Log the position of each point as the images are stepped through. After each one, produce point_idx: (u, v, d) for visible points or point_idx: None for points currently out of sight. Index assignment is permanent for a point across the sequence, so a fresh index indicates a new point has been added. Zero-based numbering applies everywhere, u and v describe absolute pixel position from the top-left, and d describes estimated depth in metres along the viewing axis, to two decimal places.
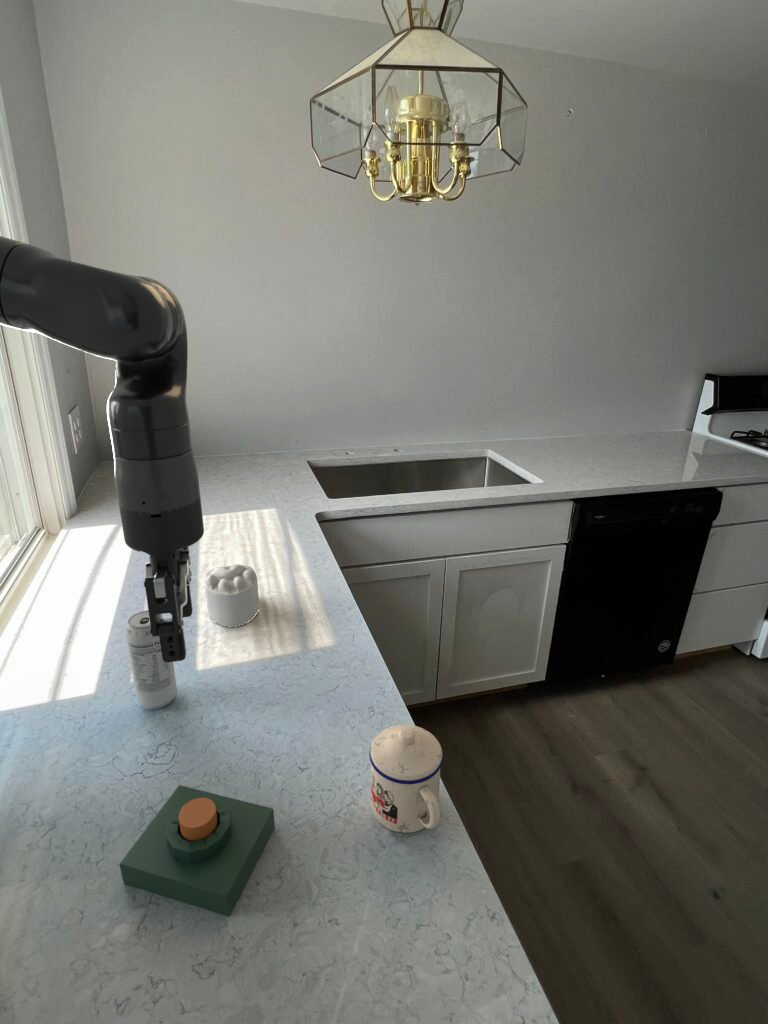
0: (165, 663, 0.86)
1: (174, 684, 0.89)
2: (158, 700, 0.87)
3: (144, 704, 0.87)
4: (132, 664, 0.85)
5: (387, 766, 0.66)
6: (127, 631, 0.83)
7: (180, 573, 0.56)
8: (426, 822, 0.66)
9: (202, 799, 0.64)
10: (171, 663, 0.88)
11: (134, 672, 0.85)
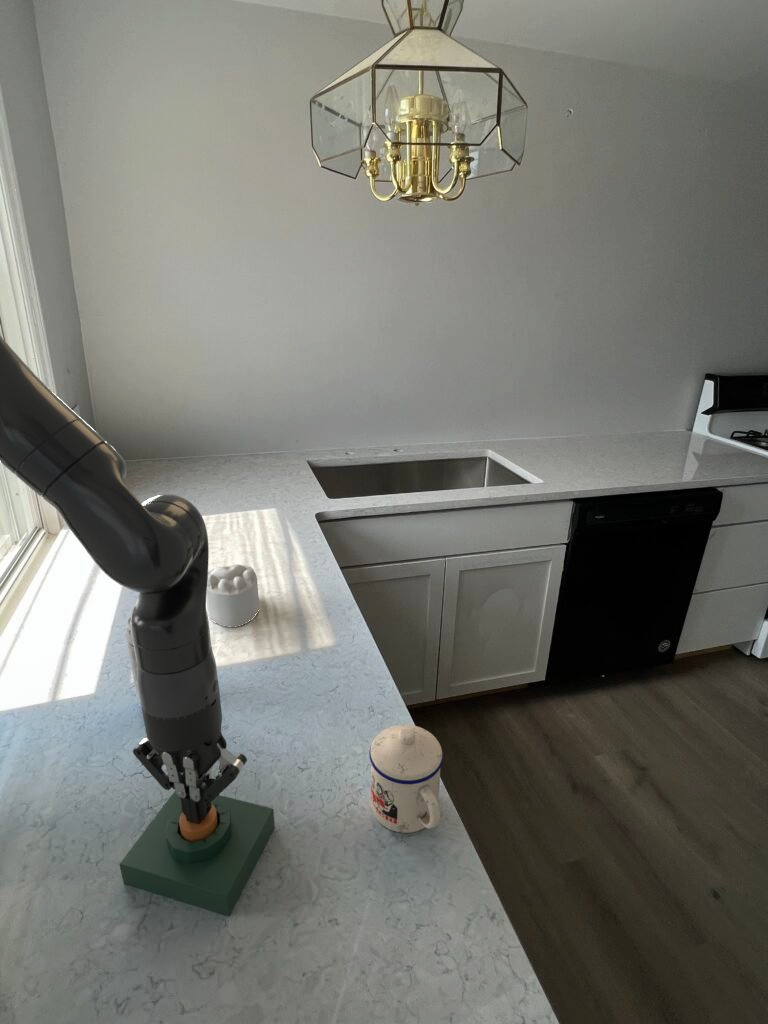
0: None
1: None
2: None
3: None
4: (132, 664, 0.85)
5: (387, 766, 0.66)
6: (127, 631, 0.83)
7: None
8: (426, 822, 0.66)
9: None
10: None
11: (134, 672, 0.85)
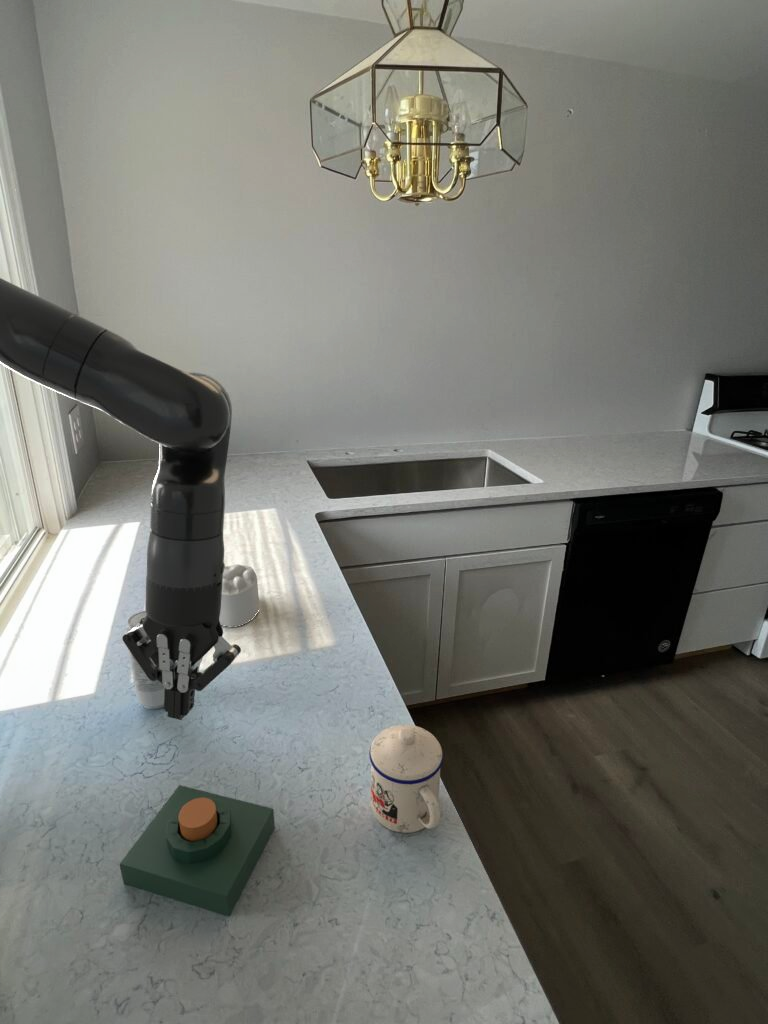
0: None
1: None
2: (158, 700, 0.87)
3: (144, 704, 0.87)
4: (132, 664, 0.85)
5: (387, 766, 0.66)
6: (127, 631, 0.83)
7: None
8: (426, 822, 0.66)
9: (202, 799, 0.64)
10: None
11: (134, 672, 0.85)
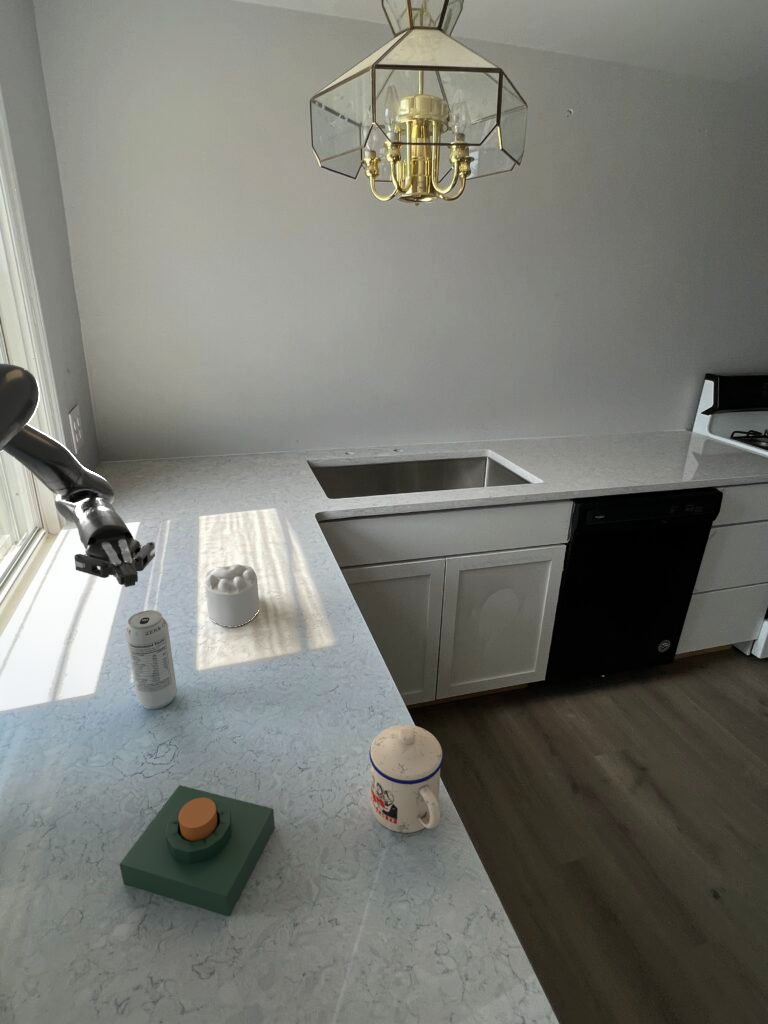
0: (165, 663, 0.86)
1: (174, 684, 0.89)
2: (158, 700, 0.87)
3: (144, 704, 0.87)
4: (132, 664, 0.85)
5: (387, 766, 0.66)
6: (127, 631, 0.83)
7: None
8: (426, 822, 0.66)
9: (202, 799, 0.64)
10: (171, 663, 0.88)
11: (134, 672, 0.85)
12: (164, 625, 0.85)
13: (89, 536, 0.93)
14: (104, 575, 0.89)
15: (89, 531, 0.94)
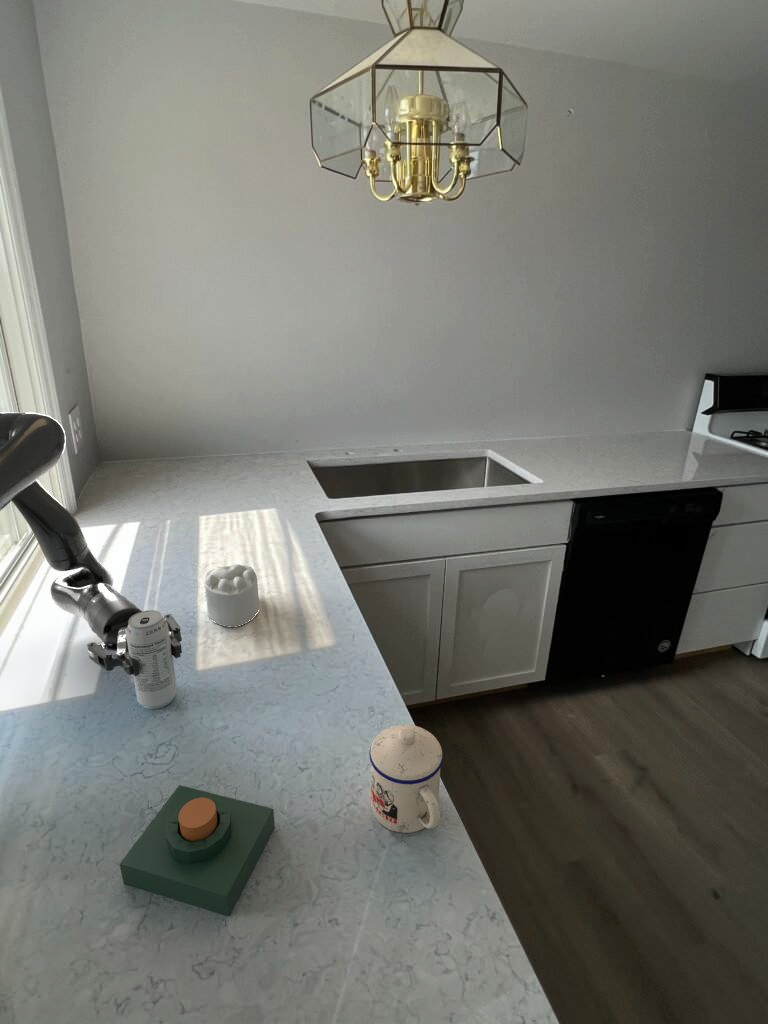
0: (165, 663, 0.86)
1: (174, 684, 0.89)
2: (158, 700, 0.87)
3: (144, 704, 0.87)
4: None
5: (387, 766, 0.66)
6: (127, 631, 0.83)
7: None
8: (426, 822, 0.66)
9: (202, 799, 0.64)
10: (171, 663, 0.88)
11: None
12: (164, 625, 0.85)
13: (104, 624, 0.91)
14: (107, 668, 0.85)
15: (102, 619, 0.92)
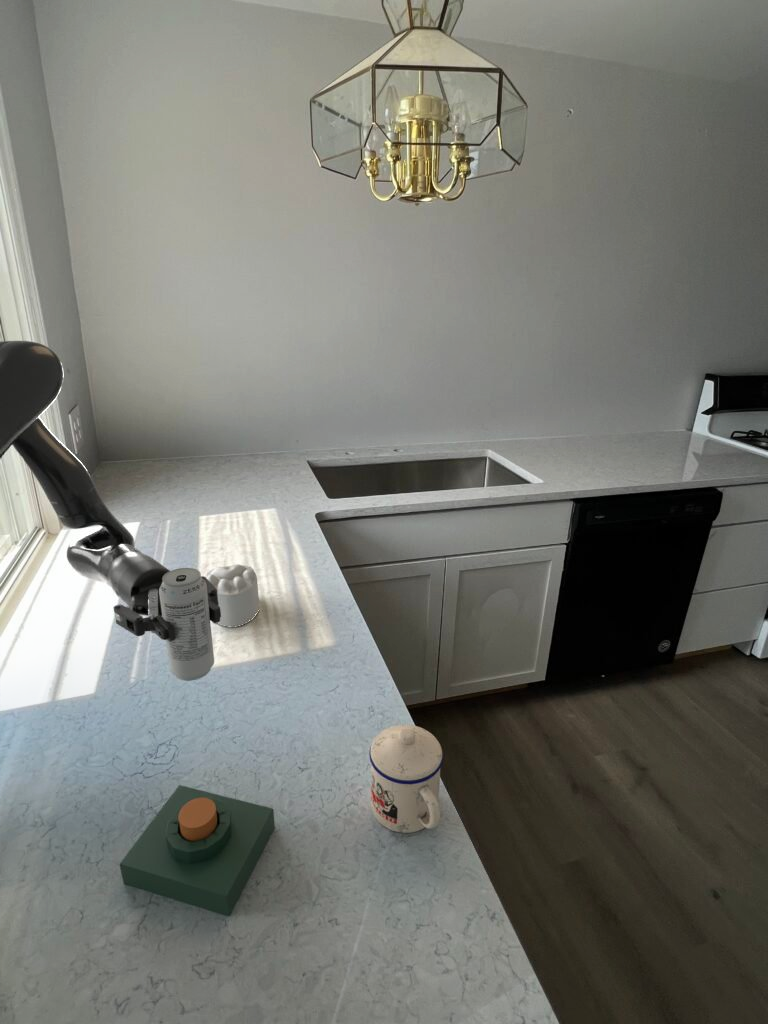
0: (203, 627, 0.75)
1: (212, 653, 0.78)
2: (195, 670, 0.76)
3: (179, 675, 0.76)
4: None
5: (387, 766, 0.66)
6: (161, 590, 0.73)
7: None
8: (426, 822, 0.66)
9: (202, 799, 0.64)
10: (209, 628, 0.77)
11: None
12: (203, 584, 0.74)
13: (131, 586, 0.80)
14: (137, 633, 0.74)
15: (129, 580, 0.81)
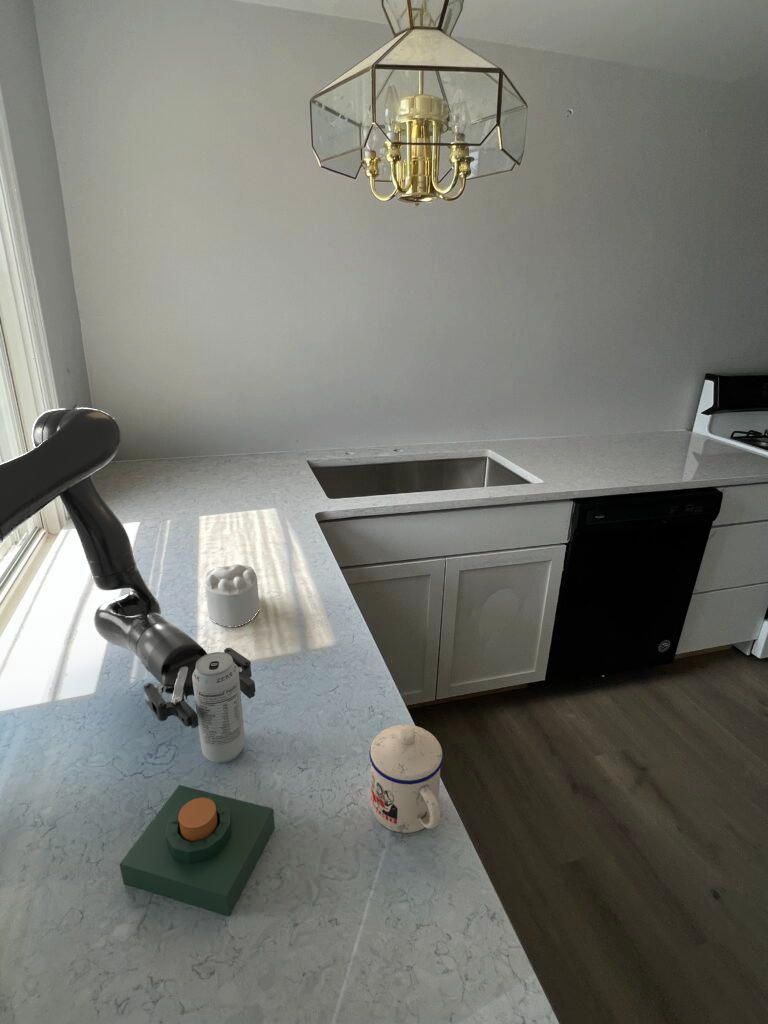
0: (236, 712, 0.76)
1: (243, 734, 0.79)
2: (227, 754, 0.77)
3: (211, 758, 0.77)
4: (199, 714, 0.75)
5: (387, 766, 0.66)
6: (195, 678, 0.73)
7: None
8: (426, 822, 0.66)
9: (202, 799, 0.64)
10: (241, 711, 0.78)
11: (201, 723, 0.75)
12: (235, 669, 0.75)
13: (161, 663, 0.81)
14: (160, 718, 0.74)
15: (159, 657, 0.81)
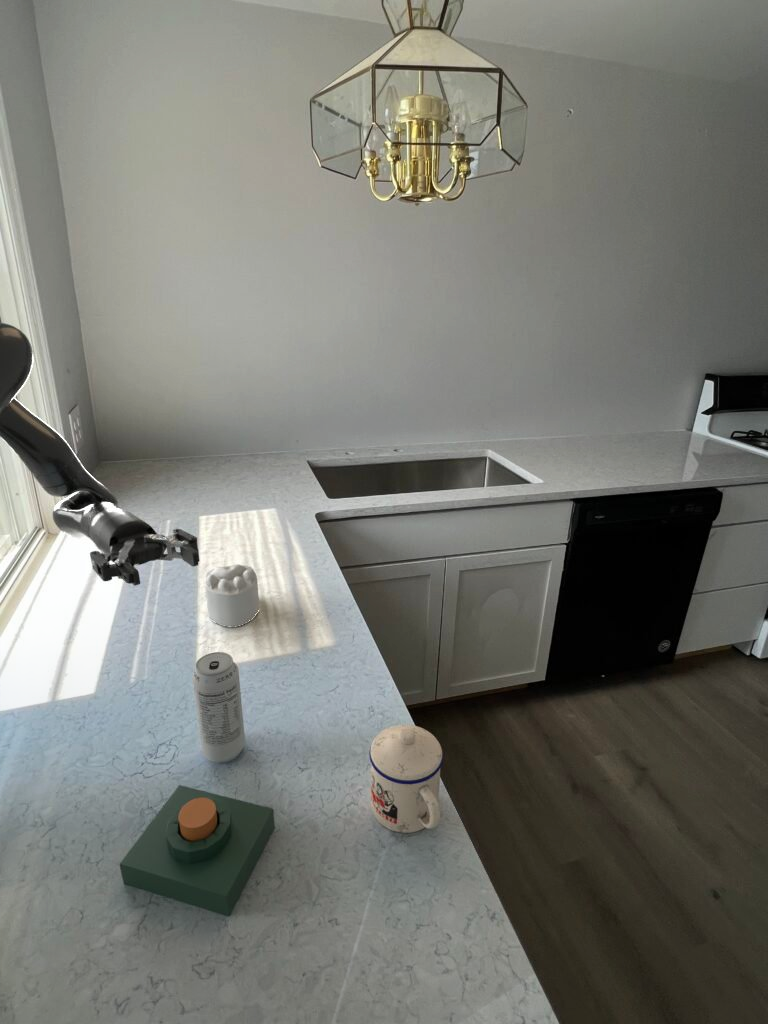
0: (236, 712, 0.76)
1: (243, 734, 0.79)
2: (227, 754, 0.77)
3: (211, 758, 0.77)
4: (199, 714, 0.75)
5: (387, 766, 0.66)
6: (195, 678, 0.73)
7: None
8: (426, 822, 0.66)
9: (202, 799, 0.64)
10: (241, 711, 0.78)
11: (201, 723, 0.75)
12: (235, 669, 0.75)
13: (110, 536, 0.83)
14: (104, 578, 0.77)
15: (108, 531, 0.84)
